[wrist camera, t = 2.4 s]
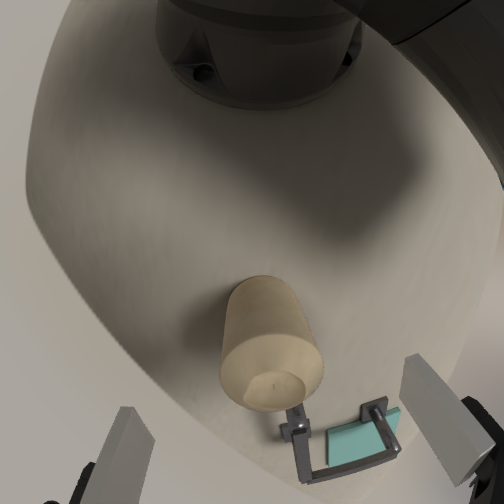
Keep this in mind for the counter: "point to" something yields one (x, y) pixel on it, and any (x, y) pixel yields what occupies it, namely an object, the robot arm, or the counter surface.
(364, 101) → the counter surface
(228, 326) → the candle
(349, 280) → the counter surface
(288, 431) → the handrail
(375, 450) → the pad
